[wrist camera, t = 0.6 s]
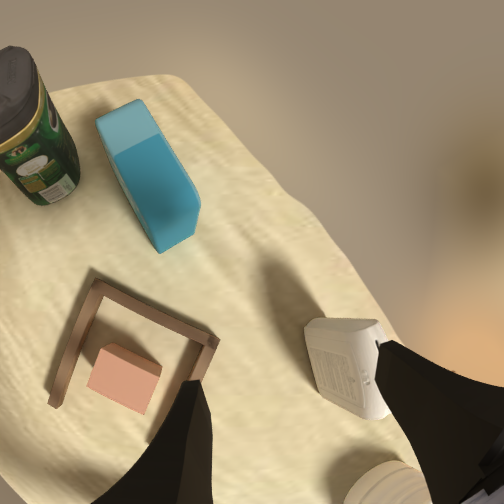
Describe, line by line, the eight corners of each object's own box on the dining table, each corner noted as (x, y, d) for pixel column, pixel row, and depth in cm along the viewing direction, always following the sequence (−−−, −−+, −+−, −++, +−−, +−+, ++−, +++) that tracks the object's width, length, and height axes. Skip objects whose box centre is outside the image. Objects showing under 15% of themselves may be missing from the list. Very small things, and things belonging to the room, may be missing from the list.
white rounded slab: (347, 388, 35) (411, 411, 23) (318, 401, 34) (376, 433, 22) (329, 312, 36) (393, 310, 24) (297, 323, 35) (354, 328, 23)
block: (148, 399, 29) (143, 415, 24) (99, 374, 29) (86, 386, 23) (162, 366, 31) (159, 377, 25) (113, 342, 30) (100, 348, 24)
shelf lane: (166, 454, 28) (165, 462, 26) (53, 399, 26) (47, 403, 24) (217, 337, 32) (220, 339, 30) (99, 279, 30) (95, 277, 29)
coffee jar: (22, 154, 30) (-42, 68, 12) (72, 129, 32) (29, 25, 15) (33, 217, 30) (-55, 147, 12) (88, 190, 32) (29, 93, 14)
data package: (113, 171, 33) (91, 113, 21) (146, 153, 34) (137, 91, 23) (159, 257, 33) (150, 229, 21) (194, 236, 34) (203, 199, 22)
